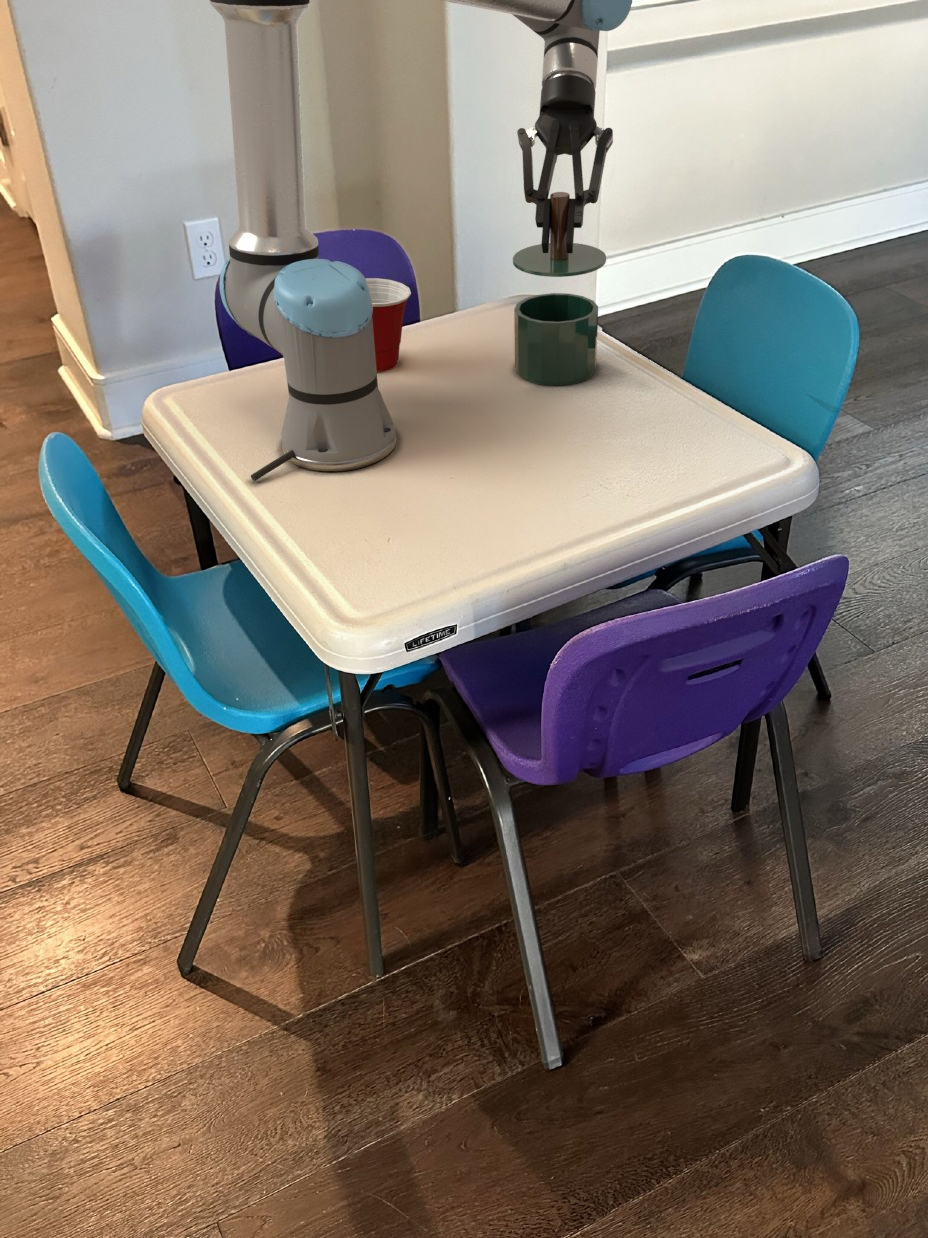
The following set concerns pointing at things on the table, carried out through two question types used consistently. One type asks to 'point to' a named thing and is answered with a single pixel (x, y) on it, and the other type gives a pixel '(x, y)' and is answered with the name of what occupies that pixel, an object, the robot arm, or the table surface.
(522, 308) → the pot
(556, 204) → the lid
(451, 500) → the table surface
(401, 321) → the plastic cup
